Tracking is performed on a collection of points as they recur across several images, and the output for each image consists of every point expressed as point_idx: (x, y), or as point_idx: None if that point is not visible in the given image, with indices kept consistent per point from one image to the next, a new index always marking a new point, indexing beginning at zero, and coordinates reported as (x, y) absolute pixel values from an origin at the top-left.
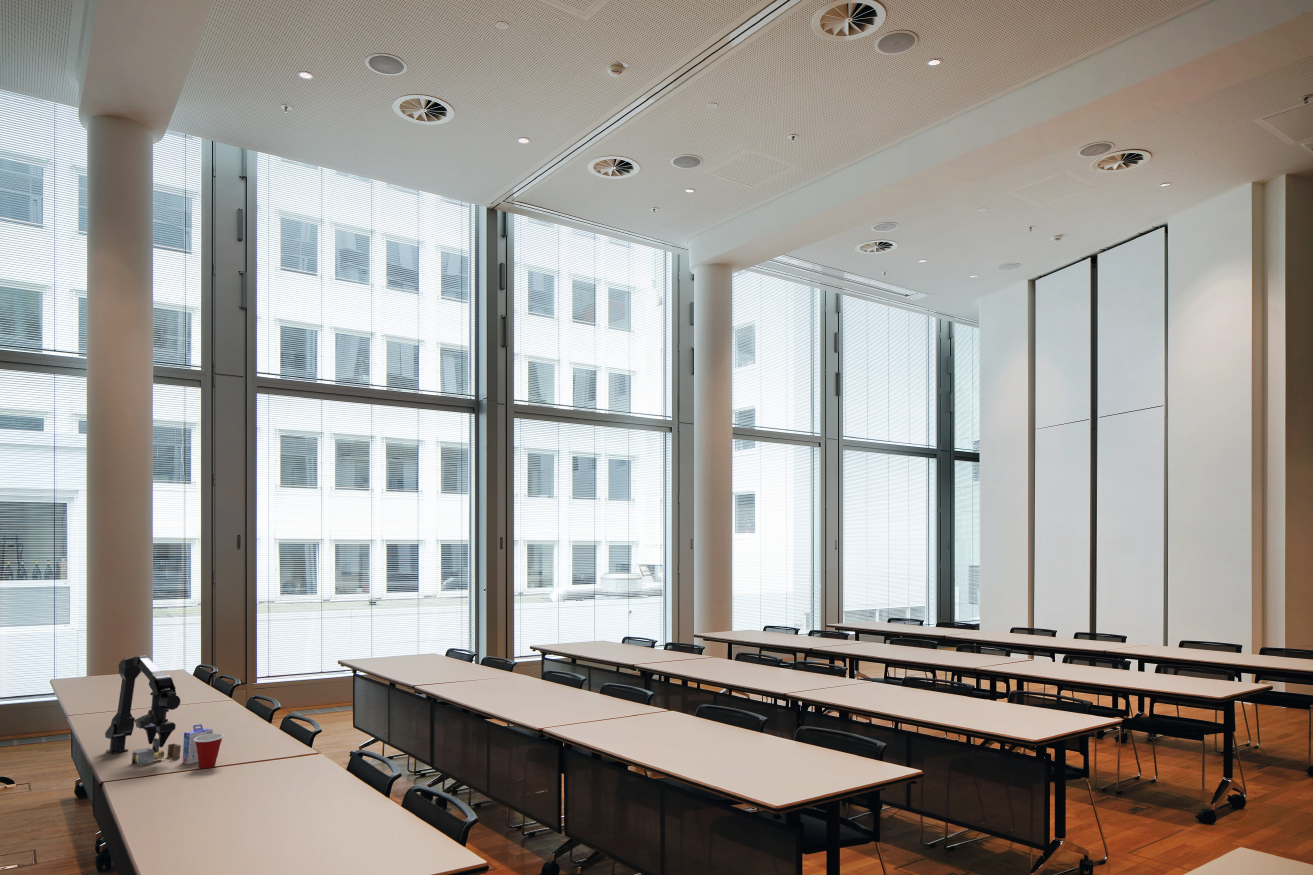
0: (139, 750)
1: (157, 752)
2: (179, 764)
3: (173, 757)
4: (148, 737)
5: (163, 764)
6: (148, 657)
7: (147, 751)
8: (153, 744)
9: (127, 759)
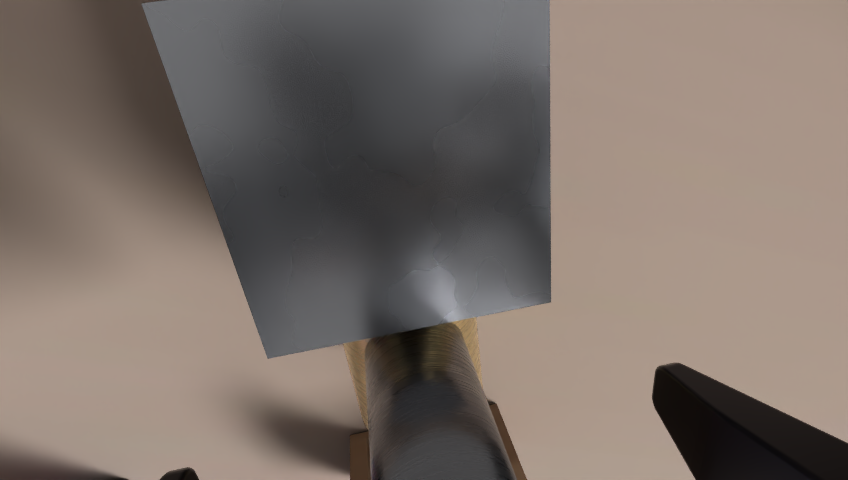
0: (436, 103)
1: (360, 364)
2: (13, 446)
3: (358, 446)
4: (797, 464)
5: (120, 318)
6: None
7: (225, 224)
8: (412, 418)
9: (759, 28)
